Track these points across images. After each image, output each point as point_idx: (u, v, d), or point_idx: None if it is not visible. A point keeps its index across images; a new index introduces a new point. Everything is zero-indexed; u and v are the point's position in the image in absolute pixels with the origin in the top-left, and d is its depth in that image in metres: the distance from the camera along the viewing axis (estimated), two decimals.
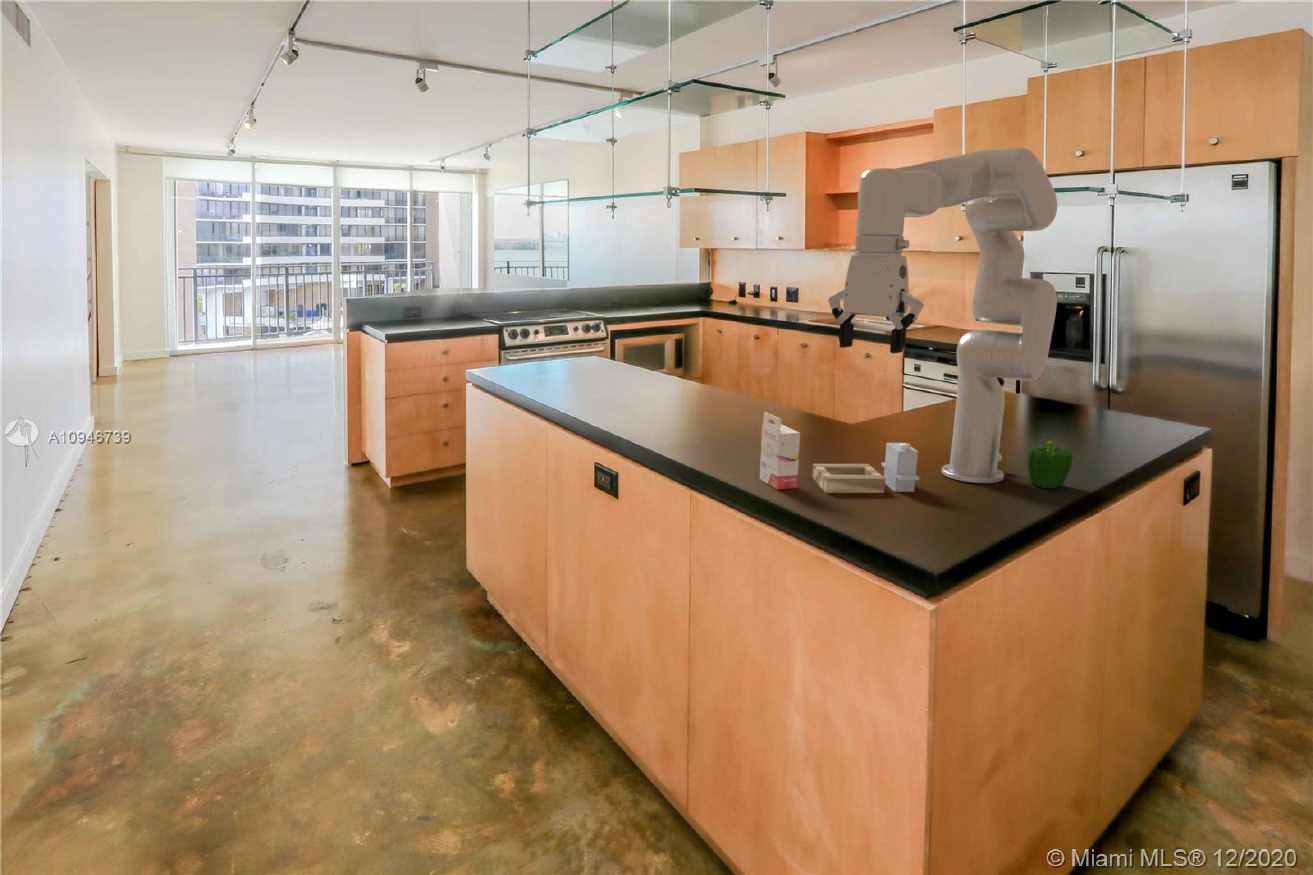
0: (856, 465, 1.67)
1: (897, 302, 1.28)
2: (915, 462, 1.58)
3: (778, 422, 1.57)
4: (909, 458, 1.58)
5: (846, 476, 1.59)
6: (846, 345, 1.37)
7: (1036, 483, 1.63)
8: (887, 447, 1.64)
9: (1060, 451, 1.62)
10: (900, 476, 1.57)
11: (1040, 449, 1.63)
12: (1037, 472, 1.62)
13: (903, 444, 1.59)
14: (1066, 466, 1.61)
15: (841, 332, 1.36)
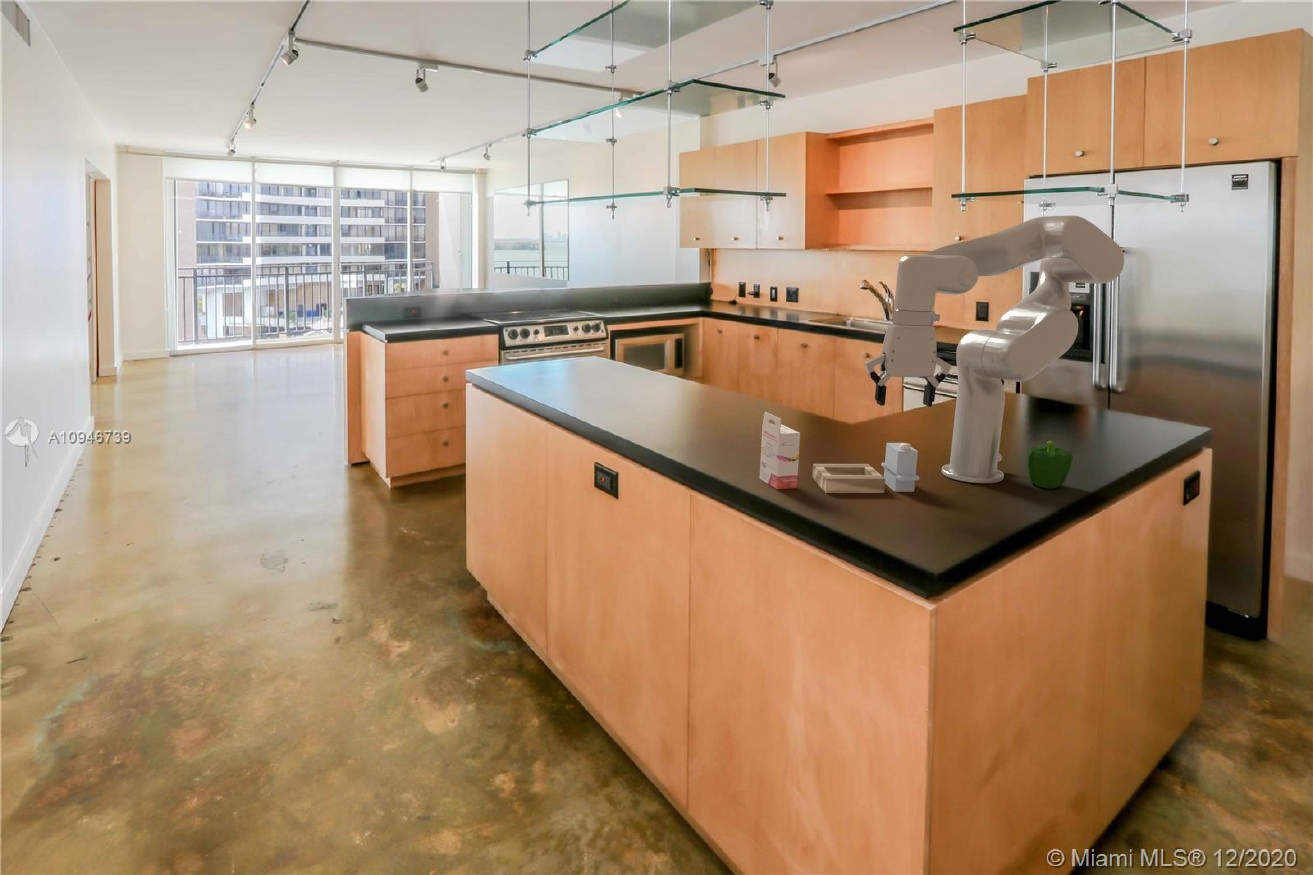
0: (856, 465, 1.67)
1: None
2: (915, 462, 1.58)
3: (778, 422, 1.57)
4: (909, 458, 1.58)
5: (846, 476, 1.59)
6: None
7: (1036, 483, 1.63)
8: (887, 447, 1.64)
9: (1060, 451, 1.62)
10: (900, 476, 1.57)
11: (1040, 449, 1.63)
12: (1037, 472, 1.62)
13: (903, 444, 1.59)
14: (1066, 466, 1.61)
15: (883, 392, 1.56)
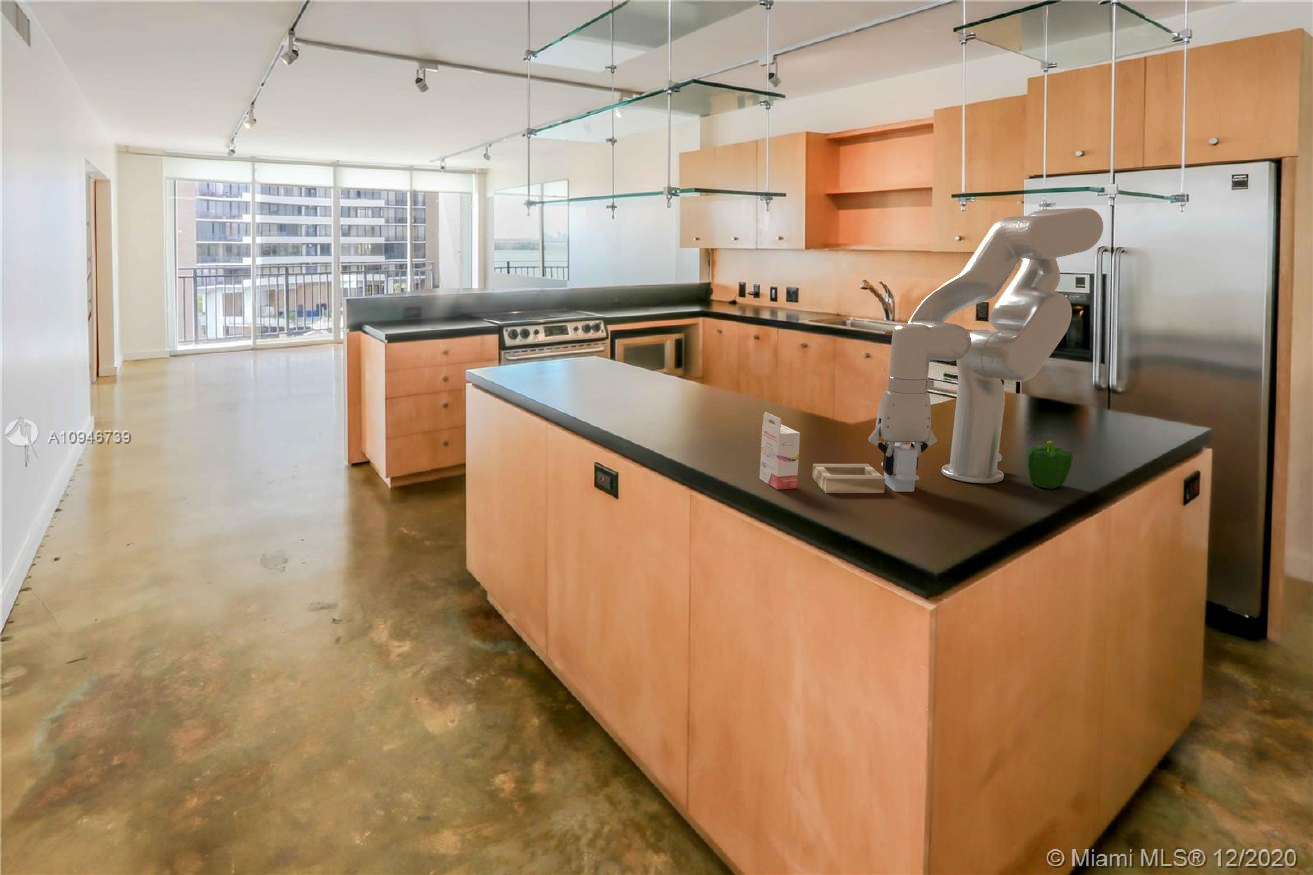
0: (856, 465, 1.67)
1: None
2: (915, 462, 1.58)
3: (778, 422, 1.57)
4: (909, 458, 1.58)
5: (846, 476, 1.59)
6: None
7: (1036, 483, 1.63)
8: None
9: (1060, 451, 1.62)
10: (900, 476, 1.57)
11: (1040, 449, 1.63)
12: (1037, 472, 1.62)
13: (903, 444, 1.59)
14: (1066, 466, 1.61)
15: (891, 463, 1.60)
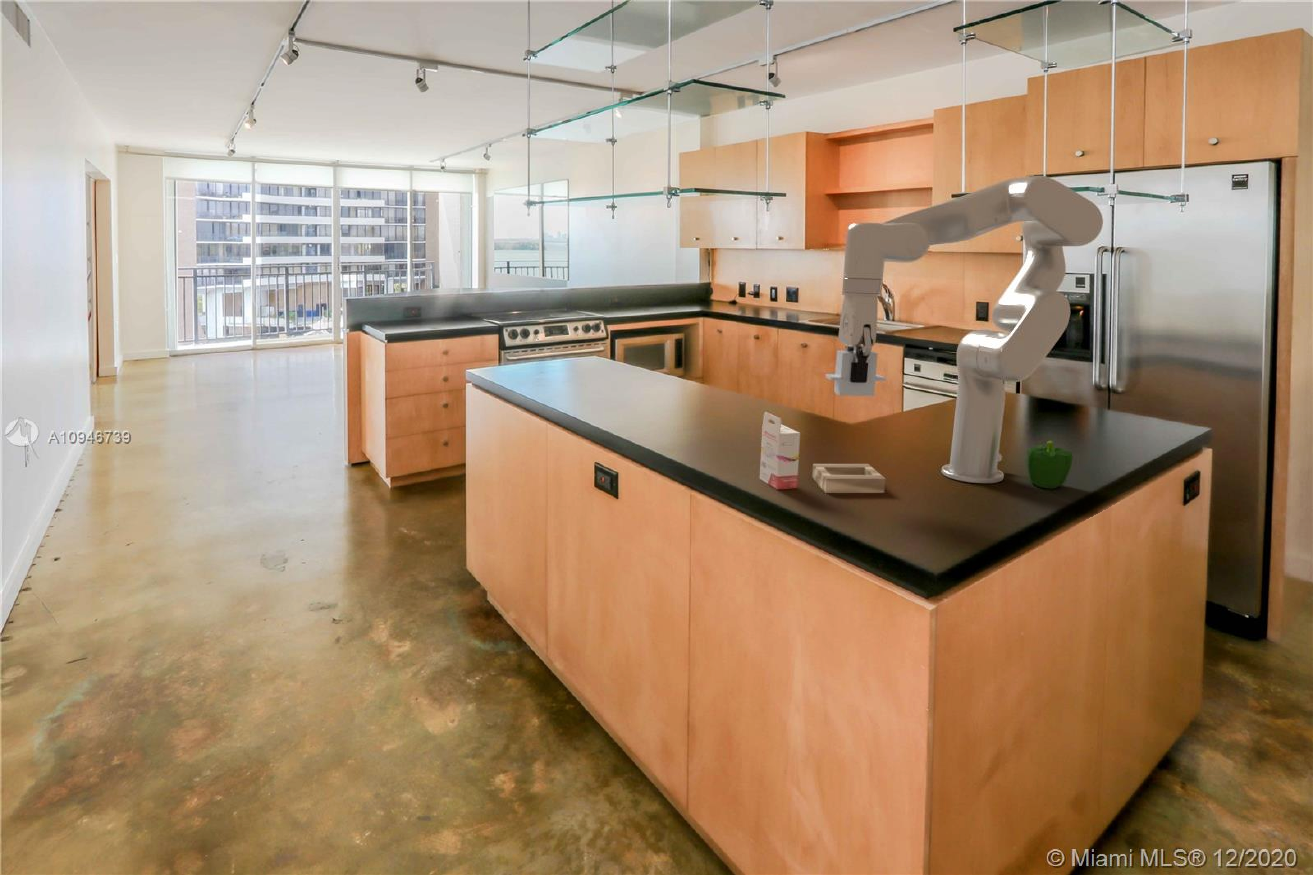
0: (856, 465, 1.67)
1: None
2: None
3: (778, 422, 1.57)
4: None
5: (846, 476, 1.59)
6: None
7: (1036, 483, 1.63)
8: (845, 357, 1.55)
9: (1060, 451, 1.62)
10: (881, 377, 1.56)
11: (1040, 449, 1.63)
12: (1037, 472, 1.62)
13: None
14: (1066, 466, 1.61)
15: None
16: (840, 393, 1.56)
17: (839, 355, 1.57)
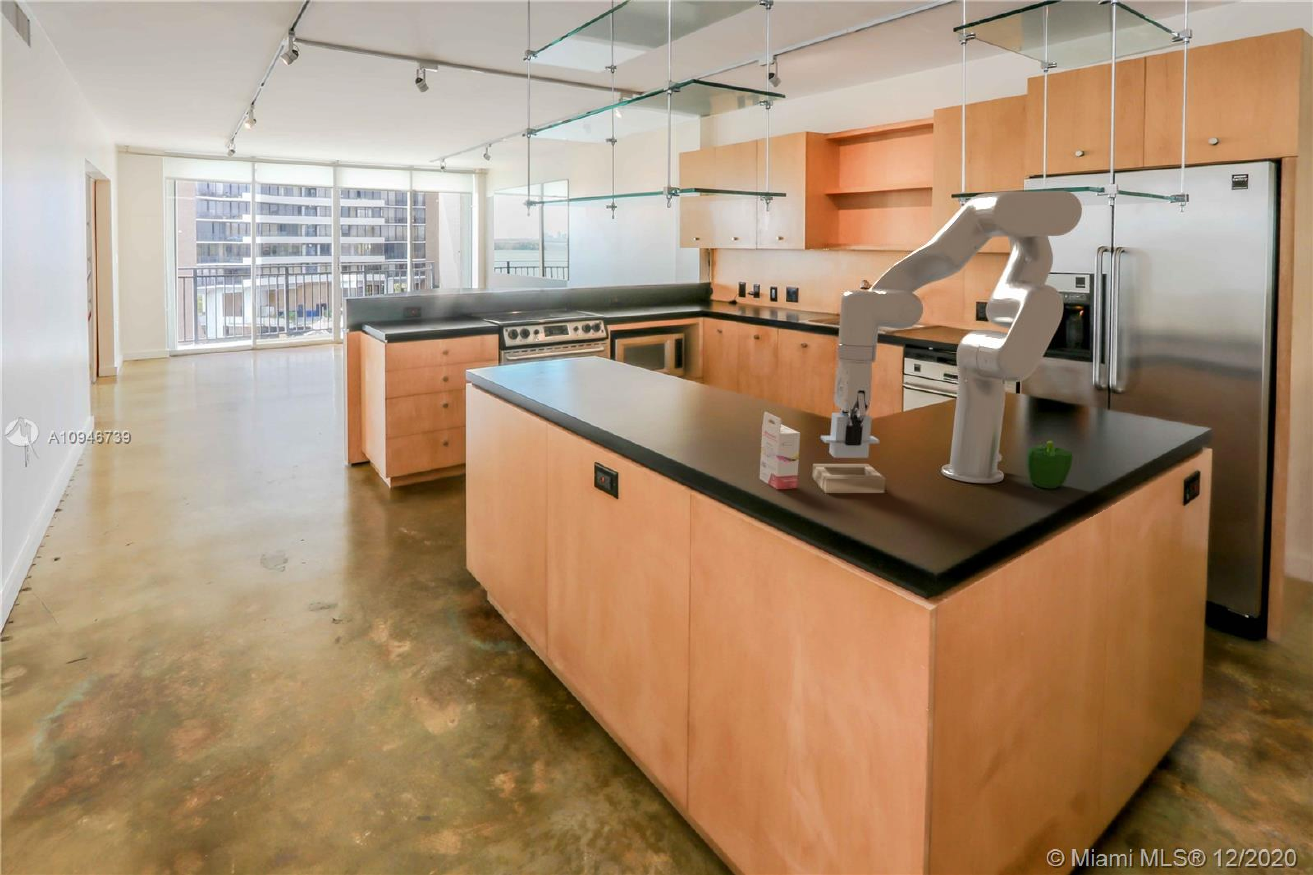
0: (856, 465, 1.67)
1: None
2: None
3: (778, 422, 1.57)
4: None
5: (846, 476, 1.59)
6: None
7: (1036, 483, 1.63)
8: (839, 420, 1.58)
9: (1060, 451, 1.62)
10: (875, 440, 1.60)
11: (1040, 449, 1.63)
12: (1037, 472, 1.62)
13: None
14: (1066, 466, 1.61)
15: (861, 432, 1.58)
16: (835, 455, 1.59)
17: (834, 418, 1.60)
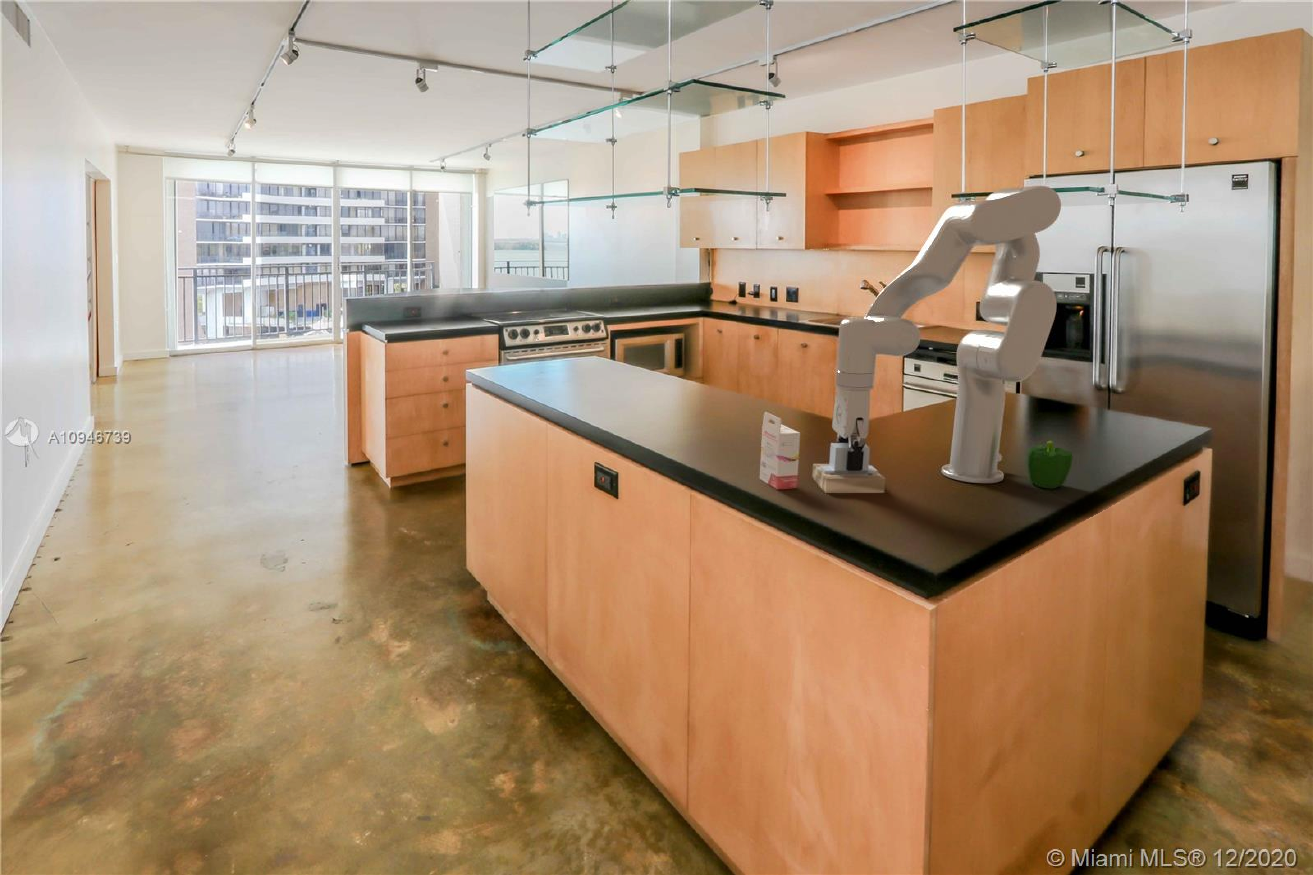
0: None
1: None
2: None
3: (778, 422, 1.57)
4: None
5: (846, 476, 1.59)
6: None
7: (1036, 483, 1.63)
8: (838, 451, 1.59)
9: (1060, 451, 1.62)
10: (873, 470, 1.61)
11: (1040, 449, 1.63)
12: (1037, 472, 1.62)
13: None
14: (1066, 466, 1.61)
15: None
16: None
17: (833, 448, 1.61)
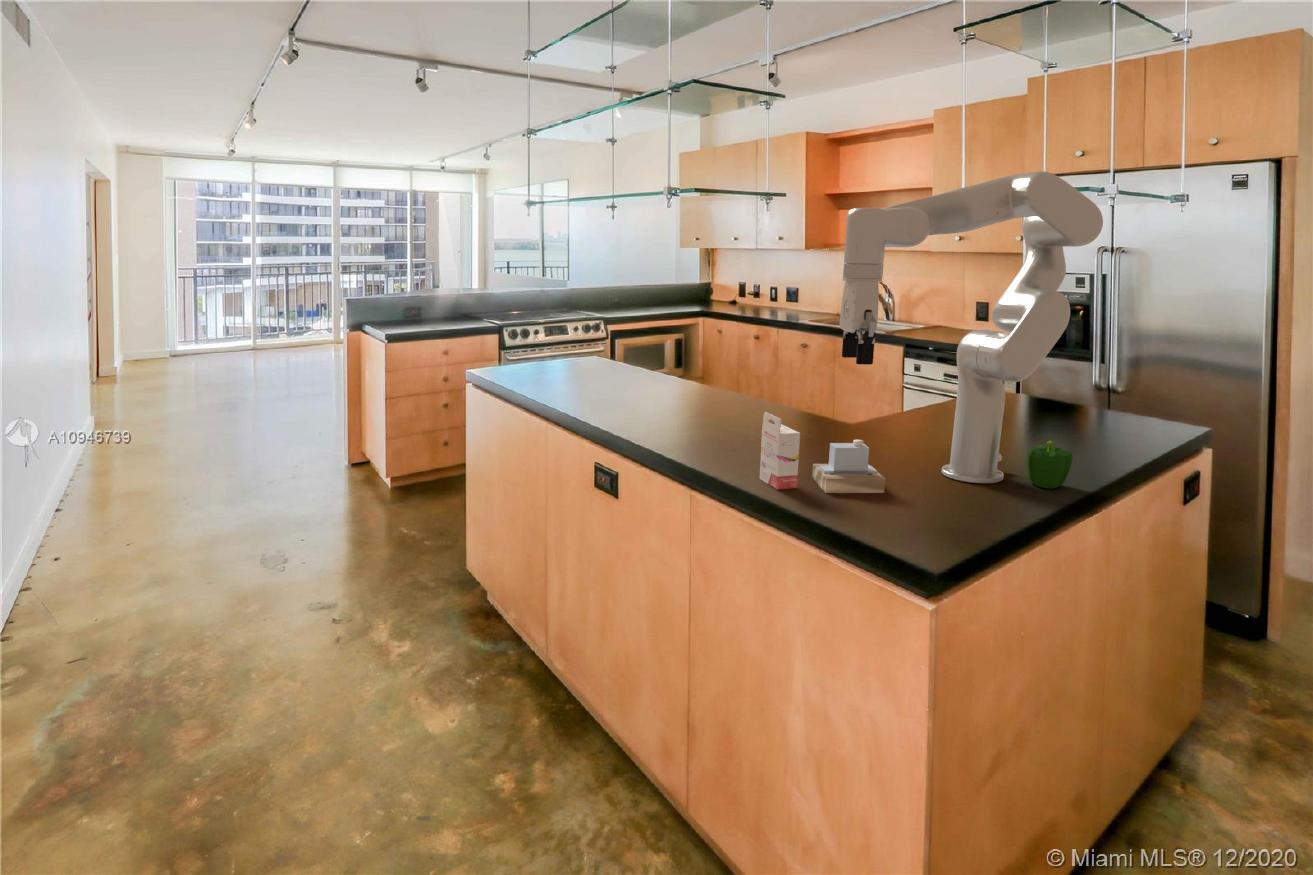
0: None
1: None
2: None
3: (778, 422, 1.57)
4: None
5: (846, 476, 1.59)
6: None
7: (1036, 483, 1.63)
8: (837, 451, 1.59)
9: (1060, 451, 1.62)
10: (873, 470, 1.61)
11: (1040, 449, 1.63)
12: (1037, 472, 1.62)
13: (859, 441, 1.61)
14: (1066, 466, 1.61)
15: None
16: None
17: (832, 448, 1.61)
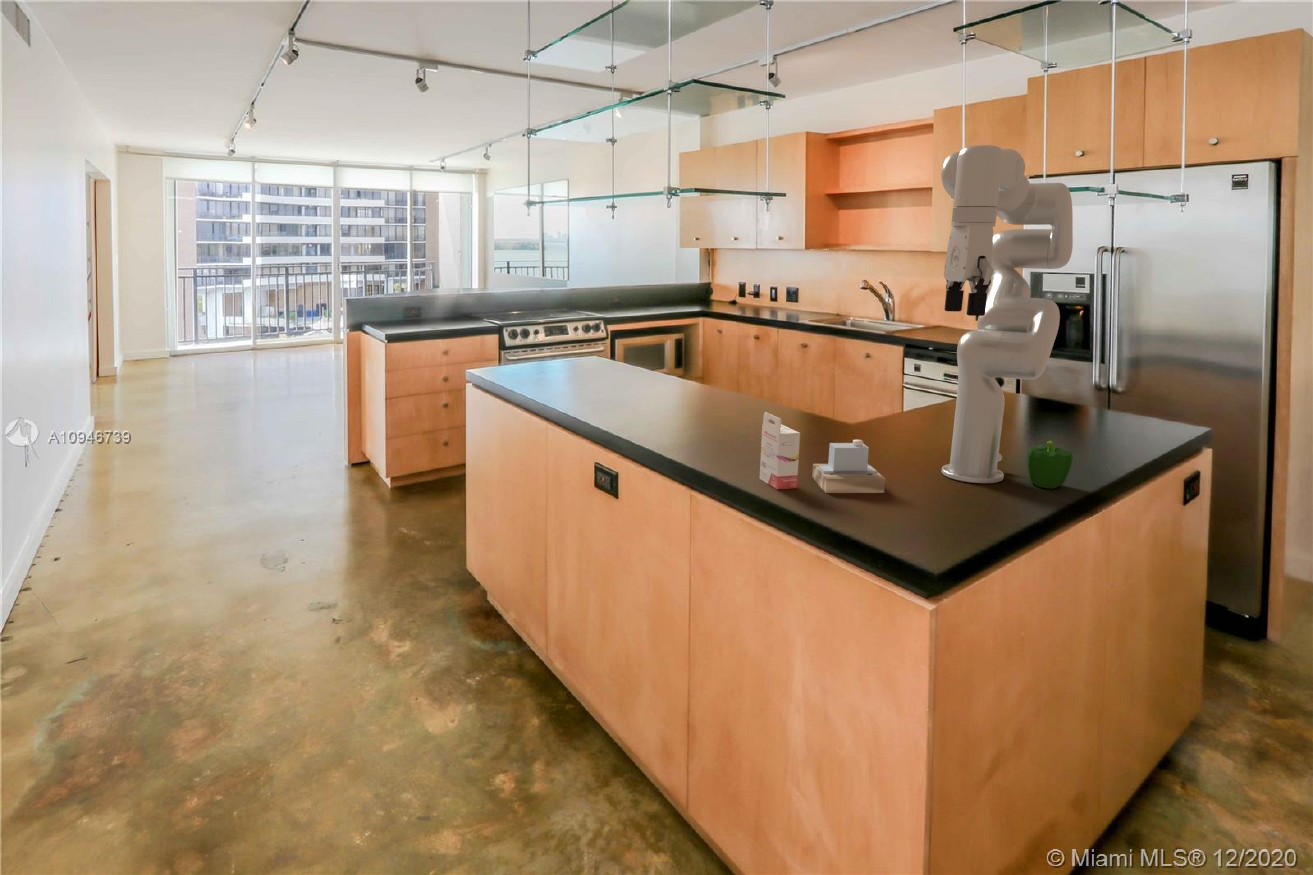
0: None
1: None
2: None
3: (778, 422, 1.57)
4: None
5: (846, 476, 1.59)
6: None
7: (1036, 483, 1.63)
8: (837, 451, 1.59)
9: (1060, 451, 1.62)
10: (872, 470, 1.61)
11: (1040, 449, 1.63)
12: (1037, 472, 1.62)
13: (858, 441, 1.61)
14: (1066, 466, 1.61)
15: (985, 300, 1.41)
16: None
17: (831, 448, 1.61)
